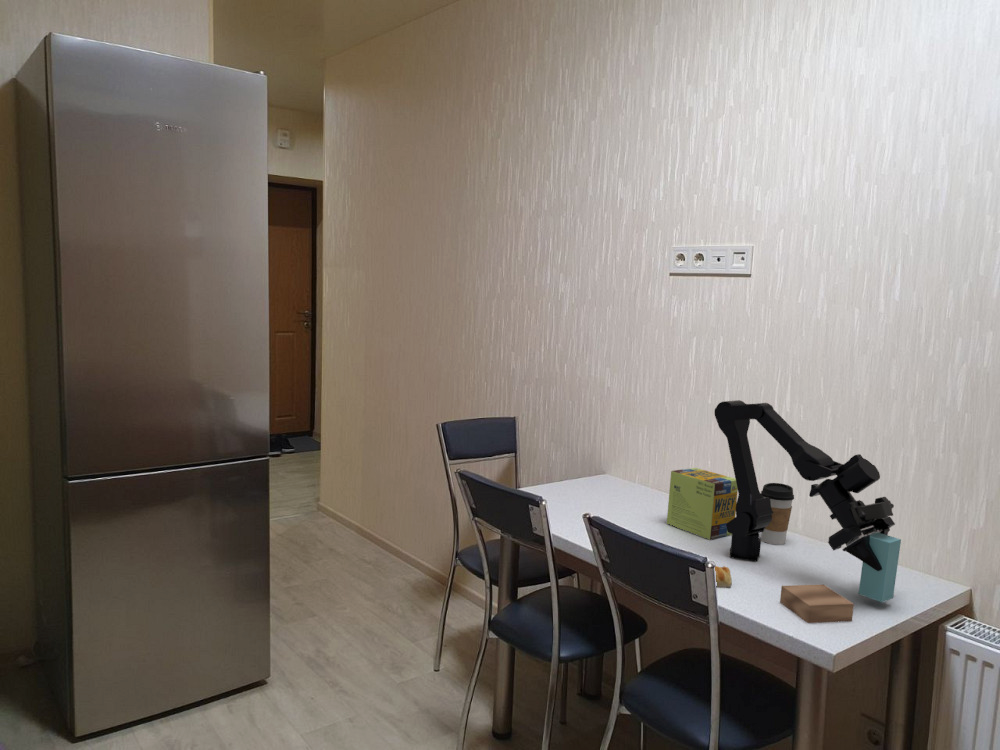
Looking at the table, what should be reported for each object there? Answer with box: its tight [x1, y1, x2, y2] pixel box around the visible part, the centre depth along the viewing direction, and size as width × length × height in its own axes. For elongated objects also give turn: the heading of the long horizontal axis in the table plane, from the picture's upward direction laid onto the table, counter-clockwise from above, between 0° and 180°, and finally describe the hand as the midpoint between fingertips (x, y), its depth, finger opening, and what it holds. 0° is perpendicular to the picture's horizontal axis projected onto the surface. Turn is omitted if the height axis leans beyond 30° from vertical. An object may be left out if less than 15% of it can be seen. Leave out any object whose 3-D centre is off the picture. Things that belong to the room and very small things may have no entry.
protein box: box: [666, 467, 738, 541], centre depth 208 cm, size 10×15×16 cm
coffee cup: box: [760, 482, 795, 546], centre depth 201 cm, size 8×8×15 cm
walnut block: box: [779, 584, 855, 624], centre depth 157 cm, size 10×10×4 cm
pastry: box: [714, 565, 733, 588], centre depth 170 cm, size 9×7×4 cm
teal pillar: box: [858, 532, 902, 603], centre depth 162 cm, size 5×5×13 cm
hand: (886, 567), depth 161 cm, fingers closed on teal pillar, 5 cm apart
